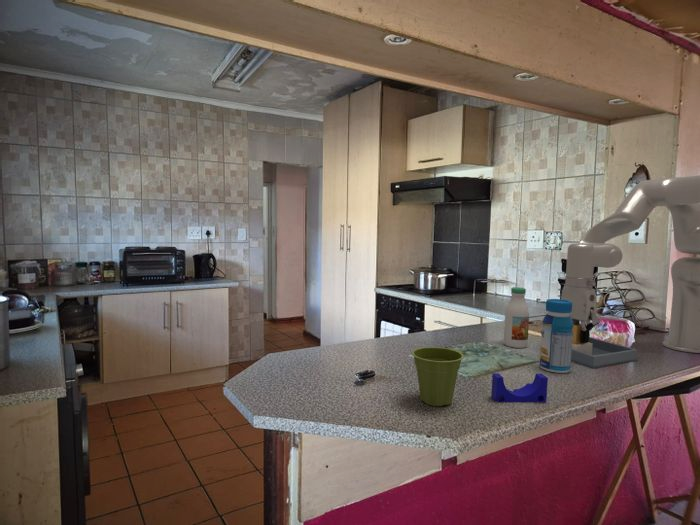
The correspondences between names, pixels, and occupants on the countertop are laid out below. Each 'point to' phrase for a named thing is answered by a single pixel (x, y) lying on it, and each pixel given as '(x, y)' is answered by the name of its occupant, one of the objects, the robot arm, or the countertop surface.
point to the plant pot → (437, 373)
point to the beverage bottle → (557, 336)
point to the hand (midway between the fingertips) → (575, 339)
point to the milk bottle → (516, 320)
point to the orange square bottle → (576, 332)
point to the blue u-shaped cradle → (520, 390)
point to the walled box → (601, 354)
